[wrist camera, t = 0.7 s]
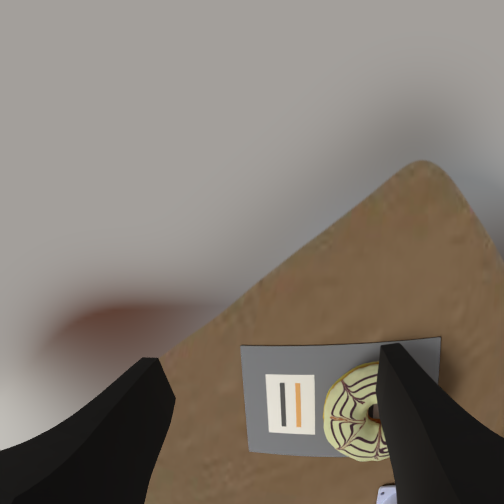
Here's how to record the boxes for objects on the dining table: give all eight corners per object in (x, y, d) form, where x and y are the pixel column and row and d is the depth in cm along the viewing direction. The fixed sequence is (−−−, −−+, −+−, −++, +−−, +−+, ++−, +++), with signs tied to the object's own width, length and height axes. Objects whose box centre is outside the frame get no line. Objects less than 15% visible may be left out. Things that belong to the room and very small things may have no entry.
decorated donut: (421, 444, 25) (426, 464, 22) (323, 445, 29) (317, 465, 25) (436, 353, 26) (445, 365, 22) (327, 356, 29) (323, 368, 26)
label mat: (428, 451, 25) (428, 451, 25) (249, 450, 32) (248, 451, 31) (440, 336, 26) (440, 337, 26) (240, 345, 32) (240, 345, 32)
